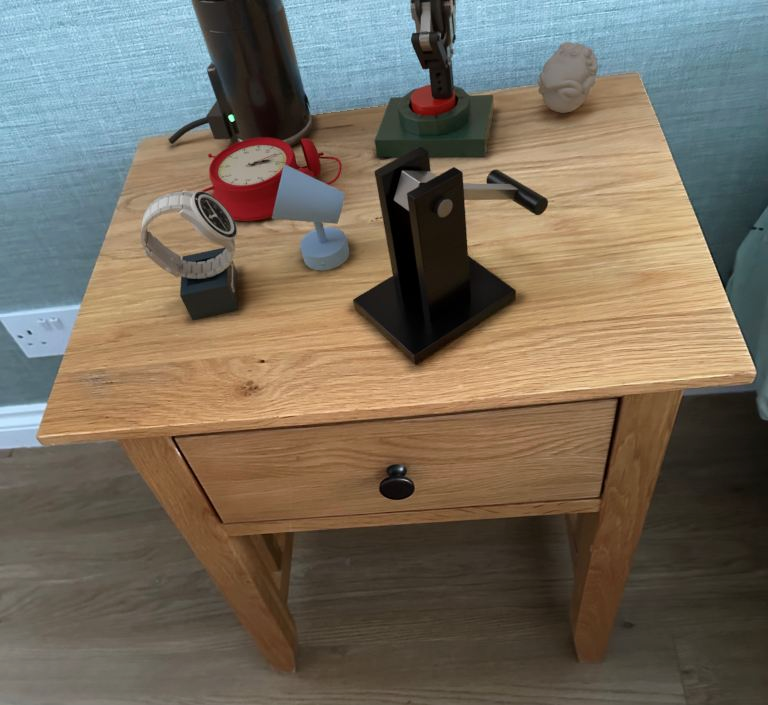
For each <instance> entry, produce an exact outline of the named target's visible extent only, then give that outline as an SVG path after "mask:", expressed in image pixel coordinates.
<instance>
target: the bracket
mask: <svg viewBox="0 0 768 705" xmlns="http://www.w3.org/2000/svg"><path fill="white" fill-rule="evenodd" d="M430 162H431V161H430V157H429V151H428V150H426V149H425V148H423V147H421V146H420V147H418V148H416V149H414V150H412V151H410V152H408V153H407V154H405V155H403V156H401V157H396V158H395V159H394V160H392V161H390V162H388V163H386V164H384V165H383V166H381V167H379V168H377V169H375V170H374V171H373V172H374V176H375V182H376V183H375V184H376V189H377V194H378V199H379V205H380V211H381V216H382V222H383V228H384V233H385V240H386V245H387V250H388V257H389V262H390V268H391V274H392V275H391V276H390V277H388V278H387V279H384V280H383V281H381V282H380V283H378V284H376V285H375V286H373V287H371V288H370V289H368V290H366V291H364V292H363V293H361V294H359V295H357V297H354V298H353V299H352V302H353V307H354V310H355V311H356V312H358V314H360V315H361V316H362V317H363V318H364V319H365V320H366V321H367V322H368V323H369V324H371V325H372V326H373V328H375V329H376V330H377V331H378V332H379V333H380V334H381V335H382V336H384V338H386V339H387V340H388V341H389V342H390V343H391V344H392V345H393V346H394V347H395V348H396V349H397V350H398V351H399V352H400V353H401V354H402V355H404V356H405V357H406V358H407V359H408V360H409V361H410V362H411V363H412V364H413V365H414V366H417V365H419V364H420V363H422V362H423V361H425V360H426V359H428V358H430V357H431V356H432V355H434V354H436V353H437V352H439V351H440V350H441V349H443V348H445V347H446V346H447V345H449V344H450V343H452V342H454V341H455V340H457V339H458V338H460V337H462V336H463V335H465V334H466V333H468V332H469V331H470V330H472V329H474V328H475V327H477V326H478V325H480V324H481V323H483V322H484V321H486V320H487V319H489V318H490V317H492V316H493V315H495V314H497V313H498V312H499V311H501V310H503V309H504V308H506V307H507V306H509V305H510V304H511V303H513V302H515V301H516V300H517V291H516V290H517V289H515V288H514V287H512V286H511V285H509V283H507V282H505V281H504V280H503V279H502V278H500V277H499V276H497V275H496V274H494V273H493V272H491V271H490V270H488V268H486V267H485V266H484V265H482V264H480V263H479V262H477V261H476V260H475V259H474V258H472V257H471V256H470V255H469V250H468V249H469V247H468V234H467V233H468V232H467V219H466V205H465V202H466V200H464V186H463V183H464V173H463V171H461V169H458V168H457V167H456V166H452V167H451V168H449V169H448V170H445V171H444V172H442V173H440V174H439V175H436V176H437V177H435V178H433V179H431V180H430V181H428V182H426V183H424V184H422V185H421V186H419V187H417V188H415V189H413V190H412V191H410V192H408V193H407V199H408V206H409V211H408V210H406V209H405V208H404V207H402V206H401V205H400V204H398V203H397V202H395V201H394V197H395V194H396V190H397V186H398V183H399V179H400V176H401V172H402V170H405V171H430V172H432V170H431V163H430Z"/></svg>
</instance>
